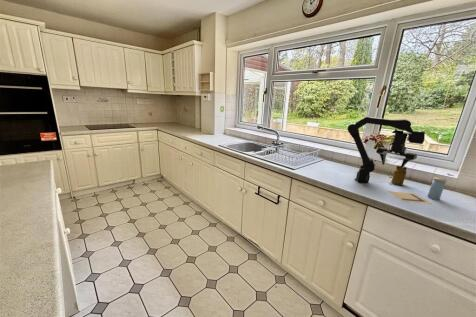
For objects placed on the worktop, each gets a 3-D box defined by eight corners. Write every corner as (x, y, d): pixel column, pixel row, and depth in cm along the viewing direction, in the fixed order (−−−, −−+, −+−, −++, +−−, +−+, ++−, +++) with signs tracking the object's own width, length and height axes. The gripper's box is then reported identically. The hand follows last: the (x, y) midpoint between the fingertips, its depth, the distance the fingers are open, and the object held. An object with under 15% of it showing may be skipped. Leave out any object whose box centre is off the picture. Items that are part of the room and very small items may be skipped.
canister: (434, 201, 111) (442, 180, 108) (424, 197, 116) (431, 177, 113) (441, 200, 113) (449, 180, 109) (431, 196, 117) (438, 176, 114)
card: (403, 202, 108) (403, 201, 108) (387, 191, 120) (387, 191, 120) (433, 205, 107) (433, 204, 107) (414, 194, 120) (414, 193, 119)
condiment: (392, 181, 138) (397, 164, 135) (407, 185, 132) (413, 167, 129) (388, 183, 134) (393, 166, 130) (404, 188, 128) (410, 169, 124)
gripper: (423, 143, 117) (415, 169, 122) (386, 137, 132) (380, 161, 136) (417, 145, 111) (409, 172, 115) (379, 138, 125) (372, 163, 130)
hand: (391, 166), depth 124 cm, fingers open, 9 cm apart
